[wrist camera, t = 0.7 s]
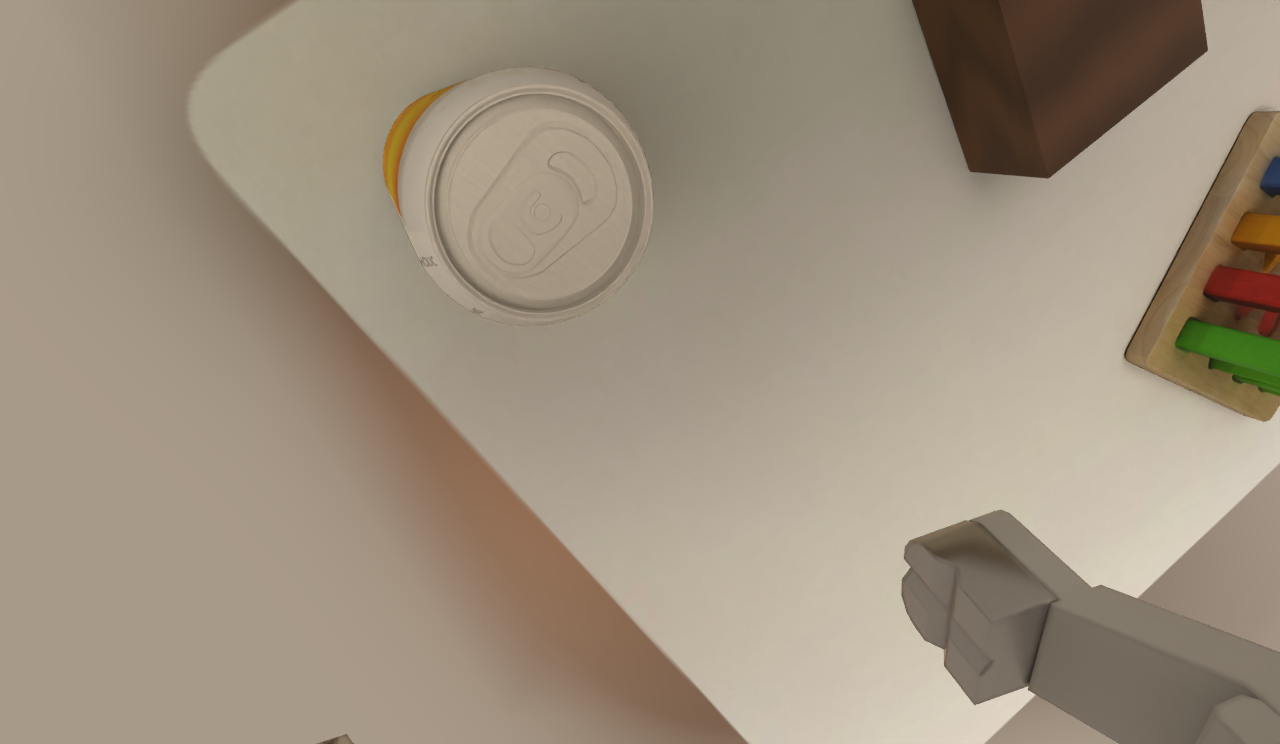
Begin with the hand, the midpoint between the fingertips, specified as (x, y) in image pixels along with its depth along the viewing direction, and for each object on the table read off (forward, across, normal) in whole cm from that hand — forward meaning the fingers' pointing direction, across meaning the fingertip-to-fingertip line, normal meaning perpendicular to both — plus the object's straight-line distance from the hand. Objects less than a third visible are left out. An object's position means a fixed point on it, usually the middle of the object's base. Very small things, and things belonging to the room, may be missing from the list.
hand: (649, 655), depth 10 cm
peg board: (+27, -51, +19) cm, 60 cm away
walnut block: (+28, -29, -2) cm, 40 cm away
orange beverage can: (+24, +1, -1) cm, 24 cm away
